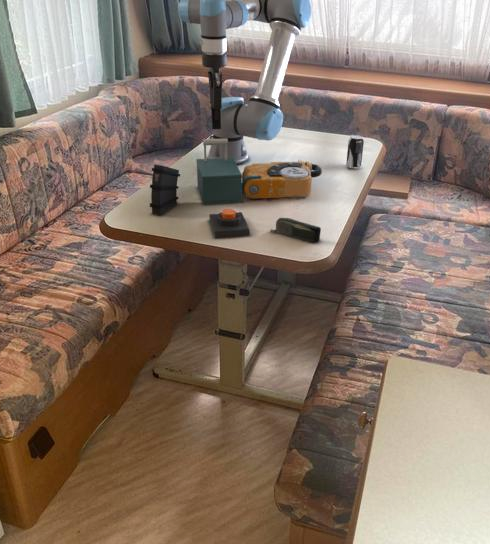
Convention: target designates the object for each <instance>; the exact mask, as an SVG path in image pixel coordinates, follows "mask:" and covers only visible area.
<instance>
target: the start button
mask: <svg viewBox="0 0 490 544" xmlns="http://www.w3.org/2000/svg"><path fill="white" fill-rule="evenodd" d="M221 212H222V218H224V219H234V218H235V217H236V212H237V211H236V210H235V209H233V208H225V209H223V210H221Z"/></svg>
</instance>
